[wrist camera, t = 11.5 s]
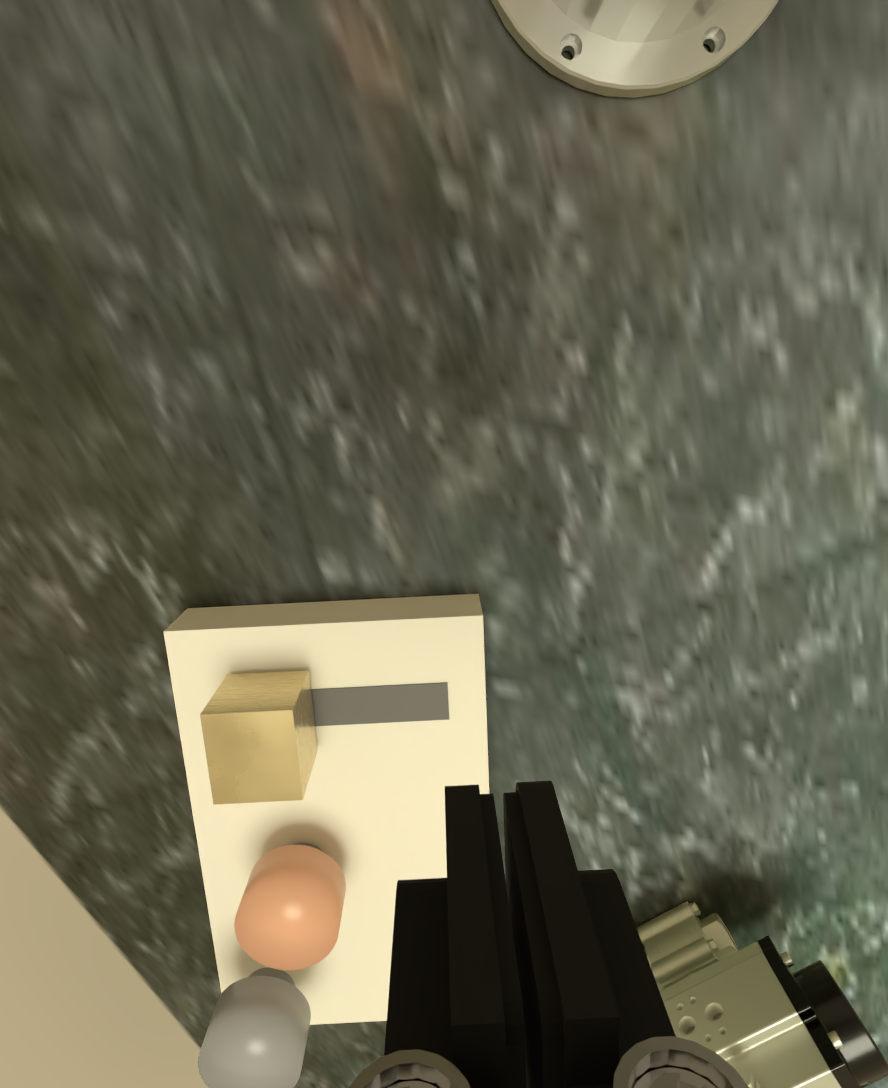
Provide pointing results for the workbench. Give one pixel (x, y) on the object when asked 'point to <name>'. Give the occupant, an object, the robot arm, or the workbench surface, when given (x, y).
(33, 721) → the workbench surface
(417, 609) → the control panel
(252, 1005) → the grey button
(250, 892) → the terracotta button
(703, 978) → the pneumatic valve
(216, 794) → the brass slider
